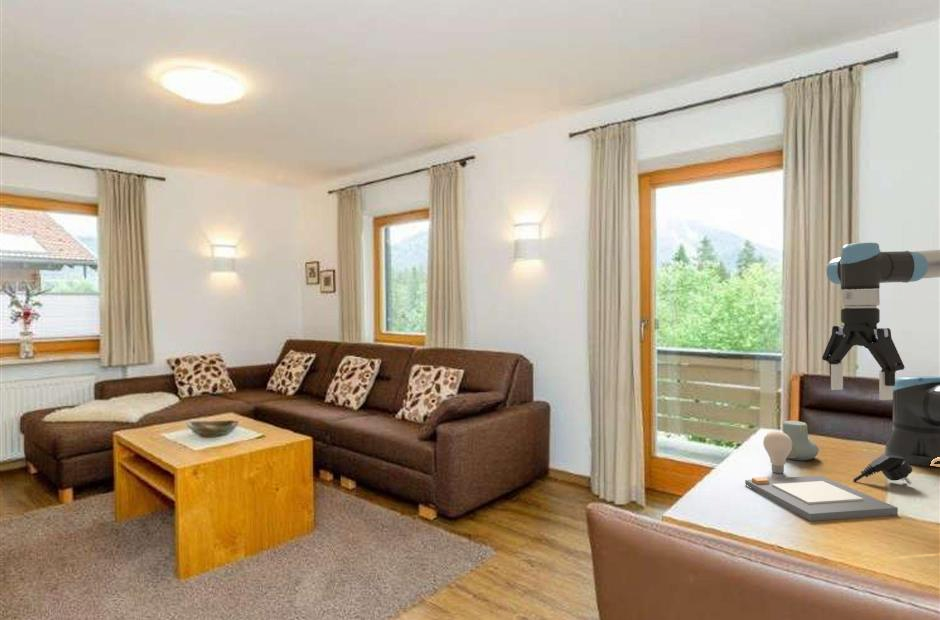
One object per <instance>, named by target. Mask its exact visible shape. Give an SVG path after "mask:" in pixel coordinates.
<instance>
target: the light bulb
mask: <svg viewBox="0 0 940 620" xmlns="http://www.w3.org/2000/svg"><path fill="white" fill-rule="evenodd" d="M762 445H763V447H764V449H765V451H766V453H767V455H768V457H769V461H770V463H771V471H772V472H773V473H775V474H783V473H784V471H785V465H786V461H787V459H788V458H787V457H788V455H789V454H790V452H791V450H792V441H791V439H790V437H789V436H788V435H787V434H785V433H783V431H780V430H774V431H773V430H772V431H769V432H767V433H766V434H765V436H764V437H763V443H762Z"/></svg>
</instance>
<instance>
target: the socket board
mask: <svg viewBox="0 0 940 620" xmlns="http://www.w3.org/2000/svg"><path fill="white" fill-rule="evenodd" d="M744 483H745V484H746V485H748V486H749V487H751V488H753V489H754V490H753V489H752V490H753V491H755V490H756V491H758V492H759V493H758V492H757V493H758V494H760V493H761V494H760V495H762V494H763V495H764V496H763V495H762V496H763V497H765V496H766V497H765V498H767V497H768V498H767V499H769V500H771V501H772V502H774V501H775V502H774V503H776V504H778V505H779V506H781V507H783V508H785V509H787V510H789V511H790V512H792V513H794V514H796V515H798V516H799V517H801V518H803V519H806V520H807V521H809V522H817V521H830V520H844V519H845V520H846V519H858V518H859V519H860V518H873V517H886V516H898V513H899V512H898V511H899V509H898V507H897V506H895V505H892V504H891V503H888V502H885V501H883V500H881V499H878V498H875V497H873V496H871V495H868V494H866V493H863V492H861V491H858V490H857V489H854V488H851V487H849V486H847V485H844V484H842V483H840V482H838V481H836V480H835V481H834V480H833V479H830V478H827V477H825V476H823V475H820V474H819V475H808V476H807V475H806V476H804V475H803V476H789V477H787V476H786V477H773V478H772V477H771V478H766V477H763V476H762V477H751V479H745V480H744ZM746 485H745V486H746ZM749 487H748V488H749ZM751 488H750V489H751ZM756 491H755V492H756Z"/></svg>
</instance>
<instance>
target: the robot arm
mask: <svg viewBox="0 0 940 620" xmlns="http://www.w3.org/2000/svg"><path fill="white" fill-rule="evenodd" d="M826 276H827V278H828V280H829V281H830V282H831V283H833V284H835V285H840V305H841V306H842V307H843V308H841V309H840V322H841V323H842V324H843V325H833V326H832V327H831V328H832V329H831V335H830V338H829V339H828V343H827V344H826V347H825V349H824V352H823V355H822V357H821V359H822V360H823V361H826V362H827V363H828V365H829V368H828V369H829V376H830V391H843V390H844V374H843V373H844V367H843V366H844V364H843V363H842V360H843V359H844V358H845V357H846V355H847V354H848V353H849V351H850V350H851V349H852V348H853V346H858V347H864V348H865V349H867V350H868V351H869V353H870V354H871V355H872V357H873V358H874V360H875V361H876V363H877V364H878V366H879V367H880V369H881V370H880V371H879V375H878V376H879V379H878V380H879V382H878V383H879V388H878V389H879V392H878V395H879V396H878V397H879V401H880V400H881V401H891V400H892V429H891V431H890V434H889V437H888V439H887V442H886V444H885V446H884V454H886V455H894V456H900V457H903V458H904V459H905V460H906V461H907V463H908V464H909V465H914V466H919V465H921V467H926V466H930V464H931V461H932V460H933V459H935V458H937V457H940V376H934V375H933V376H922V375H921V376H898V377H896V372H897V371H901V370H902V371H903V370H905V365H904V362H903V359H901V356H900V353H899V352H898V349H897V347H896V345H895V343H894V341H893V339H892V332H891V331H892V330H891V328H889V327H888V328H887V327H885V328H884V327H880V328H878V324H879V323H880V318H881V316H880V309H879V307H877V306H880V305H881V303H880V300H881V299H880V298H881V297H880V286H881V283H882V284H883V283H884V284H885V283H886V284H887V283H910V282H911V283H912V282H914V283H915V282H918V281H920V280H922V279H932V278H934V279H935V278H940V249H931V250H930V249H929V250H918V251H917V250H916V251H910V250H905V251H902V250H901V251H881V250H880V245H879V243H877V242H857V243H847V244H845V245H843V246H842V247H841V250H840V256H839V257H836V258H834V259H831V260H830V261H829V262H828V263H827V265H826ZM934 464H940V461H937V462H935V463H934Z"/></svg>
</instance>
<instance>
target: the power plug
mask: <svg viewBox="0 0 940 620" xmlns="http://www.w3.org/2000/svg"><path fill="white" fill-rule="evenodd" d="M860 472H861V473H860V474H859V475H858V476H856V477H854V478H853V479H852V481H853V482H855V483H856V482H857V481H860V479H862V478H863V477H865V478H868V477H870V476H873V475H874V474H876V473H880V472H881V473H882V474H883V475H884V476H885V478H887V479H889V481H900V480H901V481H905V482H906V483H907V484H908V485H912V481H911V480H910V478H909V477H908V476H909V475H910V474H911V473H912V472H913V468H912V466H911V464H908V463H907V461H906V460H905V459H904V458H903V457H900V456H894V455H886V454H885V453H883V454H882V455H879V457H877V458H876V459H874V460H872V462H870V463H869V464H868V465H867V466H866V467H864V469H863V470H861V471H860Z"/></svg>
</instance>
